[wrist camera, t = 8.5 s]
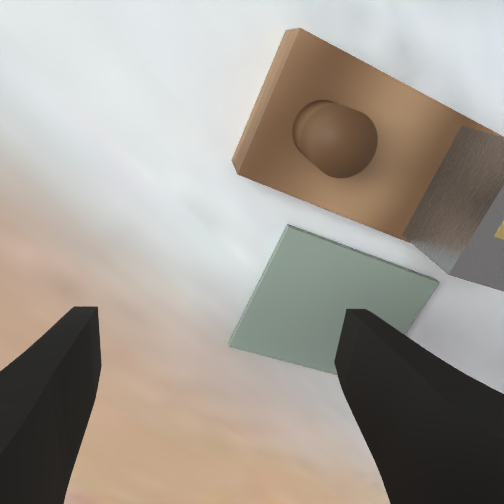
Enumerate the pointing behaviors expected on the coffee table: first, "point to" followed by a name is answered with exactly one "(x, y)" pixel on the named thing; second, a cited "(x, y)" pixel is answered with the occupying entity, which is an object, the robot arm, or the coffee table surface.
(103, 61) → the coffee table surface
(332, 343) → the mat
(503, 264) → the grey rectangular block
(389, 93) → the plane body
